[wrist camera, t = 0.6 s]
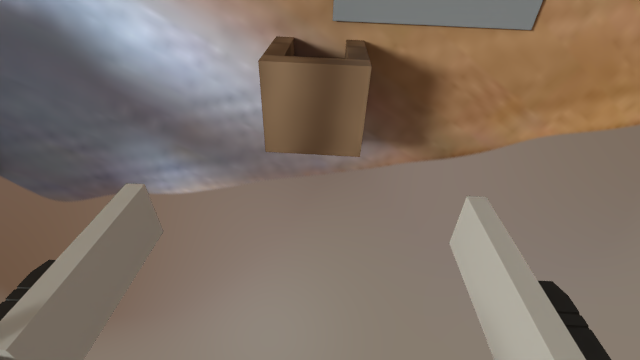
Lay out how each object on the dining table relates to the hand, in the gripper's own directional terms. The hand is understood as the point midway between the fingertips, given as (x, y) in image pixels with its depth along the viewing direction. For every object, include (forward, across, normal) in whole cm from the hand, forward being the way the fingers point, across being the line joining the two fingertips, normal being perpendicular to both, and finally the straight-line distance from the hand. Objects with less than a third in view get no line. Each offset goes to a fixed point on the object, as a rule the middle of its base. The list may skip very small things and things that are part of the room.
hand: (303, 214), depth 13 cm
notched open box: (+19, 0, 0) cm, 19 cm away
